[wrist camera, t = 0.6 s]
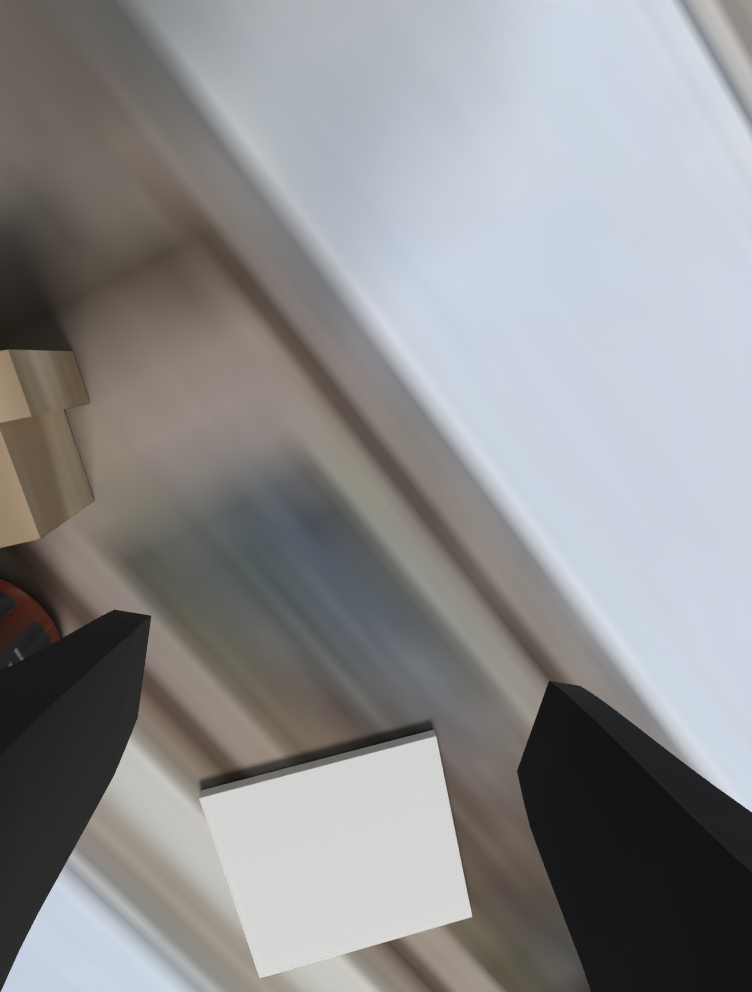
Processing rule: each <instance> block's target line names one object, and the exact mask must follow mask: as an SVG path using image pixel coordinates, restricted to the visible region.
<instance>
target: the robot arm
mask: <svg viewBox="0 0 752 992" xmlns="http://www.w3.org/2000/svg"><path fill="white" fill-rule="evenodd" d="M150 621H151V616H149V615H143V614H137V613H131V612H125V611H119V610H113V611H111V612H109V613H107V614H105V615H103V616H101V617H99V618H97V619H96V620H94V621H92V622H90V623H88V624H87V625H85V626H83V627H81V628H80V629H78V630H76V631H74V632H73V633H71V634H69V635H67V636H65V637H64V638H62V639H60V640H58V641H56V642H54V643H53V644H51V645H49V646H47V647H45V648H43V649H41V650H40V651H38V652H36V653H34V654H32V655H30V656H29V657H27V658H25V659H23V660H21V661H19V662H17V663H15V664H13V665H11V666H9V667H7V668H5V669H3V670H1V671H0V992H1V990H2V988H3V985H4V983H5V981H6V979H7V976H8V974H9V972H10V970H11V968H12V965H13V963H14V961H15V959H16V956H17V954H18V952H19V950H20V948H21V946H22V944H23V942H24V940H25V938H26V936H27V934H28V932H29V930H30V928H31V926H32V924H33V922H34V920H35V918H36V916H37V914H38V912H39V910H40V909H41V907H42V905H43V903H44V901H45V900H46V898H47V896H48V894H49V892H50V891H51V889H52V887H53V885H54V883H55V882H56V880H57V878H58V876H59V874H60V873H61V871H62V869H63V867H64V865H65V863H66V862H67V860H68V858H69V856H70V854H71V853H72V851H73V849H74V847H75V845H76V844H77V842H78V840H79V838H80V836H81V835H82V833H83V831H84V829H85V827H86V826H87V824H88V822H89V820H90V818H91V816H92V815H93V813H94V811H95V809H96V807H97V805H98V804H99V802H100V800H101V798H102V796H103V794H104V793H105V791H106V789H107V787H108V785H109V783H110V782H111V780H112V778H113V776H114V774H115V772H116V769H117V767H118V765H119V762H120V760H121V757H122V755H123V753H124V750H125V748H126V745H127V743H128V740H129V738H130V735H131V733H132V730H133V728H134V725H135V723H136V720H137V718H138V711H139V703H140V696H141V688H142V681H143V673H144V666H145V658H146V651H147V643H148V636H149V628H150ZM517 773H518V777H519V782H520V786H521V791H522V796H523V800H524V804H525V808H526V812H527V816H528V820H529V824H530V828H531V830H532V833H533V836H534V839H535V842H536V844H537V847H538V850H539V852H540V855H541V858H542V861H543V863H544V866H545V869H546V871H547V874H548V877H549V879H550V882H551V885H552V887H553V890H554V892H555V895H556V898H557V900H558V903H559V906H560V908H561V911H562V913H563V916H564V919H565V921H566V924H567V927H568V929H569V932H570V934H571V937H572V940H573V942H574V945H575V948H576V950H577V953H578V955H579V958H580V961H581V963H582V966H583V969H584V972H585V975H586V978H587V981H588V984H589V987H590V989H591V992H752V812H750V811H749V810H748V809H746V808H745V807H743V806H742V805H741V804H739V803H738V802H736V801H735V800H734V799H732V798H731V797H729V796H728V795H727V794H725V793H724V792H722V791H721V790H720V789H718V788H717V787H715V786H714V785H713V784H711V783H710V782H708V781H707V780H706V779H704V778H703V777H702V776H700V775H699V774H698V773H696V772H695V771H694V770H692V769H691V768H690V767H688V766H687V765H686V764H684V763H683V762H682V761H680V760H679V759H678V758H677V757H675V756H674V755H673V754H671V753H670V752H669V751H667V750H666V749H665V748H664V747H662V746H661V745H660V744H658V743H657V742H656V741H654V740H653V739H652V738H651V737H649V736H648V735H647V734H645V733H644V732H643V731H642V730H640V729H639V728H638V727H636V726H635V725H634V724H633V723H631V722H630V721H629V720H627V719H626V718H625V717H623V716H622V715H621V714H620V713H618V712H617V711H616V710H614V709H613V708H612V707H610V706H609V705H608V704H606V703H605V702H603V701H602V700H601V699H599V698H598V697H596V696H595V695H593V694H592V693H590V692H589V691H587V690H586V689H584V688H582V687H581V686H577V685H571V684H565V683H559V682H552V681H549V683H548V686H547V688H546V691H545V694H544V697H543V700H542V703H541V705H540V708H539V711H538V714H537V717H536V719H535V722H534V725H533V728H532V731H531V734H530V736H529V739H528V742H527V745H526V748H525V750H524V753H523V756H522V759H521V762H520V764H519V767H518V770H517Z"/></svg>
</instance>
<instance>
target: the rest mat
mask: <svg viewBox="0 0 752 992" xmlns="http://www.w3.org/2000/svg"><path fill="white" fill-rule="evenodd" d="M199 799H200V802H201V805H202V808H203V811H204V814H205V817H206V820H207V823H208V826H209V829H210V832H211V835H212V838H213V841H214V844H215V847H216V850H217V853H218V856H219V859H220V861H221V864H222V867H223V870H224V873H225V876H226V879H227V882H228V885H229V888H230V891H231V894H232V897H233V900H234V903H235V906H236V909H237V912H238V915H239V918H240V921H241V924H242V927H243V930H244V933H245V936H246V939H247V942H248V945H249V948H250V951H251V954H252V957H253V960H254V963H255V966H256V969H257V972H258V975H259V978H262V977H266V976H269V975H273V974H276V973H280V972H283V971H287V970H290V969H294V968H297V967H300V966H304V965H307V964H311V963H314V962H318V961H321V960H325V959H328V958H332V957H335V956H338V955H342V954H345V953H349V952H352V951H356V950H359V949H363V948H366V947H370V946H373V945H376V944H380V943H383V942H387V941H390V940H394V939H397V938H401V937H404V936H408V935H411V934H414V933H418V932H421V931H425V930H428V929H432V928H435V927H439V926H442V925H446V924H449V923H452V922H456V921H459V920H463V919H466V918H470V917H472V914H471V909H470V904H469V899H468V894H467V889H466V884H465V879H464V874H463V869H462V864H461V859H460V854H459V849H458V843H457V838H456V833H455V828H454V823H453V818H452V813H451V808H450V803H449V798H448V793H447V788H446V783H445V778H444V773H443V768H442V763H441V758H440V753H439V748H438V743H437V738H436V734H435V732H434V730H430V731H426V732H423V733H419V734H415V735H411V736H407V737H403V738H400V739H396V740H392V741H388V742H384V743H380V744H377V745H373V746H369V747H365V748H361V749H358V750H354V751H350V752H346V753H342V754H338V755H335V756H331V757H327V758H323V759H319V760H315V761H312V762H308V763H304V764H300V765H296V766H293V767H289V768H285V769H281V770H277V771H273V772H270V773H266V774H262V775H258V776H254V777H250V778H247V779H243V780H239V781H235V782H231V783H227V784H224V785H220V786H216V787H212V788H208V789H205V790H201V793H200V797H199Z"/></svg>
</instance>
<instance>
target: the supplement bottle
mask: <svg viewBox="0 0 752 992" xmlns="http://www.w3.org/2000/svg"><path fill="white" fill-rule="evenodd" d="M58 640H60V636H59V633H58V631H57V629H56V626H55V625H54V623H53V621H52V619H51V618H50V616H49V615H48V614H47V612H46V611H45V610H44V609H43V608H42V607H41V605H40V604H39V603H38V602H37V601H36V600H34V599H33V598H32V597H31V596H30V595H29V594H27V593H26V592H25V591H23V590H22V589H20V588H19V587H17V586H15V585H13V584H10V583H9V582H6V581H4V580H2V579H0V671H1V670H3V669H5V668H7V667H9V666H11V665H13V664H15V663H17V662H19V661H21V660H23V659H25V658H27V657H29V656H30V655H32V654H34V653H36V652H38V651H40V650H41V649H43V648H45V647H47V646H49V645H51V644H53V643H54V642H56V641H58Z"/></svg>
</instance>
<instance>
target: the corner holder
mask: <svg viewBox="0 0 752 992" xmlns="http://www.w3.org/2000/svg"><path fill="white" fill-rule="evenodd" d="M85 404H90V403H89V400H88V397H87V394H86V391H85V388H84V385H83V382H82V378H81V375H80V372H79V369H78V366H77V363H76V360H75V357H74V354H73V351H46V350H9V349H8V350H3V351H0V548H2V547H6V546H11V545H15V544H20V543H24V542H29V541H33V540H38V539H41V538H43V537H44V536H45V535H47V534H48V533H50V532H51V531H52V530H54V529H55V528H57V527H58V526H60V525H61V524H62V523H64V522H65V521H67V520H68V519H70V518H71V517H72V516H74V515H75V514H77V513H78V512H79V511H81V510H82V509H84V508H85V507H87V506H88V505H89V504H91V503H92V502H94V498H93V495H92V492H91V489H90V486H89V483H88V480H87V477H86V474H85V471H84V468H83V465H82V462H81V460H80V457H79V454H78V451H77V448H76V445H75V442H74V439H73V436H72V433H71V430H70V427H69V424H68V421H67V418H66V415H65V412H64V409H67V408H72V407H76V406H81V405H85Z"/></svg>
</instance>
